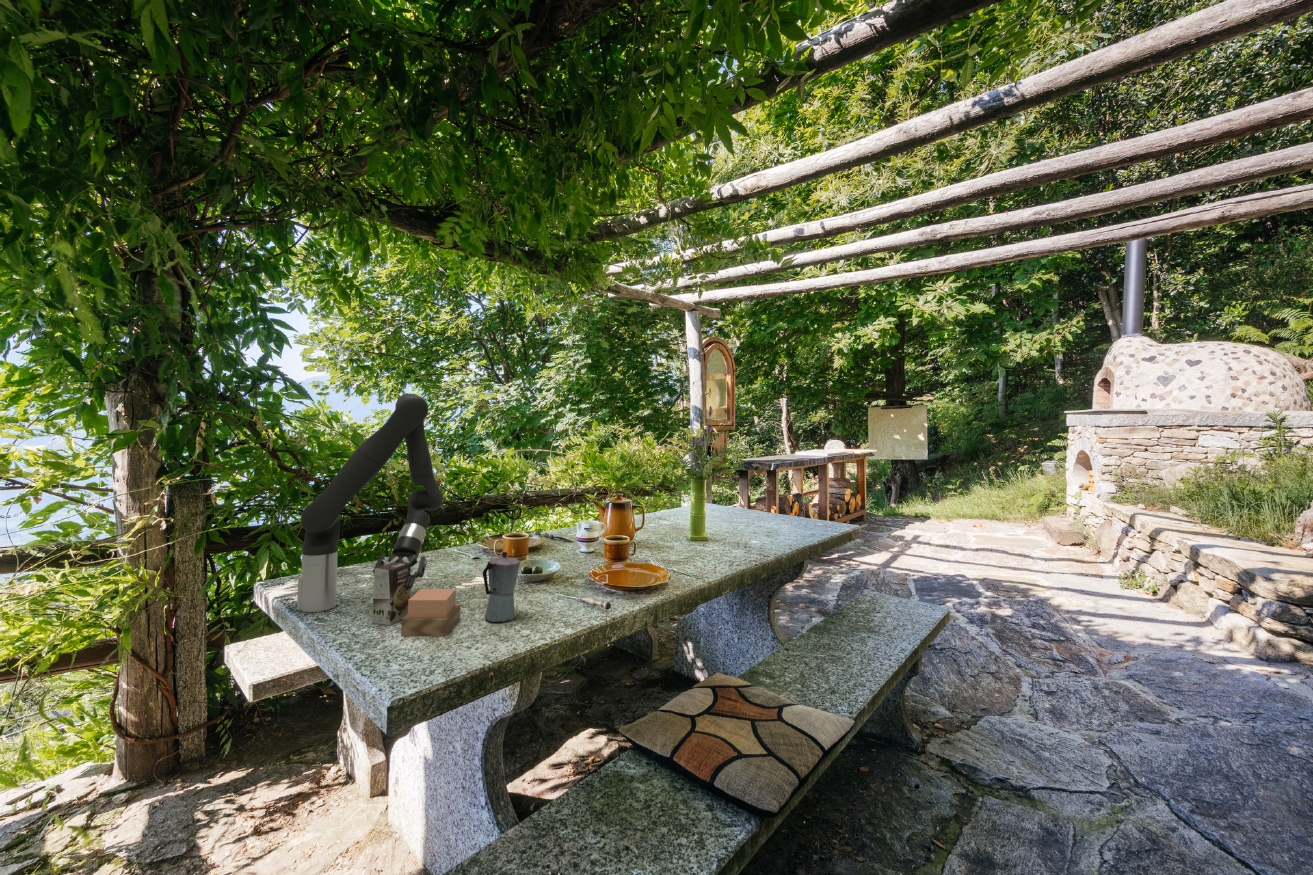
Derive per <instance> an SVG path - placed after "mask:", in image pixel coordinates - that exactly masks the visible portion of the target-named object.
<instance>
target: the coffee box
mask: <svg viewBox="0 0 1313 875" xmlns="http://www.w3.org/2000/svg"><path fill="white" fill-rule="evenodd" d="M388 563H389V562H388ZM388 563H386V564H384V565H383V566H380V567H377V568H374V567H373V569H374V573H373V576H374V577H373V592H372V594H373V595H372V597H373V598H372V599H373V600H372V618H371V619H372V620H371V623H372V624H377V625H379V624H380V625H385V626H392V625H394V624H396V623H398V622H400V621H402V618H403V617H405V616H406V615H407V614H408V600H409V599H410V598H411V597H412V594H413V593H412V590H413V589H412V588H413V587H412V588H410V590H406V588H405V585H406V582H407V580H408V577H409V576H410V573H409V571H410V567H412V564H413V563H411V562H392V563H389V564H388ZM412 568H413V567H412Z"/></svg>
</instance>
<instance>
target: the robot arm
mask: <svg viewBox="0 0 1313 875" xmlns="http://www.w3.org/2000/svg"><path fill="white" fill-rule="evenodd" d="M428 413H429V405H428V402H427V401H426V400H425V399H424V398H423V397H421V396H420V395H418V394H415V393H405V394H402V395H401V396H400V397H398V398H397V400H396V402H395V410H394V411H393V412H392V414H391V415H390V417H389V418H388V419H387V420H386V422H385V423H384V424H383V425H382V426H381V427H380V428H378V429H377V431H375V432H373V434H372V435H370V436H369V437H368V438H367V439H365V440H364V441H363V442H362V443H361V444H360V445H359V446H358V447H357V448H356V450H354V452H353V453H352V454H351V455H350V456H349V458H347V460H346V461H345V463H344V464H343V465H342V466H341V468H340V469H339V470H338V471H337V473H336V475H335V476H334V478H333V480H332V481H330V483H329V485H328V486H327V487H326V488H325V489H324V490H323V491H321V493H320V494H319V495H318V496H316V498H315V499H313V501H312V502H310V503H309V504H308V505H307V506H305V508H304V509H303V510H302V512H301V514H300V523H301V526H302V527H303V529H305V531H304V532H305V533H304V540H303V543H302V549H301V577H299V578H298V580H297V599H296V600H297V603H296V604H297V605H296V607H297V608H296V610H297V611H301V612H304V613H319V612H325V611H328V610H331V608H332V609H333V608H335V607H337V588H338V587H337V581H338V552H339V551H338V549H339V547H338V546H339V542H340V535H341V533H340V531H341V514H342V511H343V510H344V509H345V507H346V506H347V504H348V503H349V502H350V501H351V499H352V498H353V497H354V496H356V494H358V493H359V492H360V491H361V490H362V489H364V488H365V487H366V486H367V485H368V483H369V484H370V482H371V481H372V480H373V479H374V478H375V477H376V476H377V475H378V473H379V472H380V471H381V470H382V469H383V467H384V466H385V465H386V464H387V462H388V461H389V460H390V458H391V457H392V456H393V454H395V452H396V451H397V449H398V448H399V446H400V445H401V444H402V442H403V441H405V446H406V454H407V455H406V456H407V462H408V469H409V474H410V480H411V483H412V484H414V485H418V486H421V487H423V488H424V489H415V490H413V491H412V492H411V493H410V495H409V496H408V500H407V501H408V503H407V504H408V506H407V516H406V519H405V521H404V524H403V526H402V528H401V530H400V531H399V534H398V537H397V539H396V542H395V544H394V546H393V549H392V552H391V555H390V556H384V554H380V555H379V557H378V559H377V561H376V563H375V565H374V566H373V569H372V573H373V574H374V568H377V567H380V566H383V565H386V564H389V563H392V562H411V563H413V564H412V567H410V571H409V573H410V576H409V577H408V580H407V582H406V585H405V588H406V590H410V588H413V586H414V583H415V582H416V581H415V580H416V579H417V578H423V577H424V576H425V575H424V574H425V570H426V567H427V563H428V560H427V558H426V556H425V555H423V556H421V557H419V556H420V553H421V549H422V547H423V544H424V542H425V537H426V533H427V530H428V528H429V525H430V522H431V517H430V515H429V513H427V512H425V511H437V510H438V509H440V508H441V506H442V505H443V502H444V498H443V493H442V491H441V489H440V487H439V485H438V483H437V480H436V477H435V475H434V470H433V464H432V458H431V454H430V450H429V446H428V442H427V438H426V432H425V419H426V418H427V415H428ZM416 564H418V567H417V571H414V569H413V567H415V565H416ZM324 610H325V611H324Z"/></svg>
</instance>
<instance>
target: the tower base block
mask: <svg viewBox="0 0 1313 875" xmlns="http://www.w3.org/2000/svg"><path fill="white" fill-rule="evenodd" d="M460 622H461V605H460V604H455V607H454V608H453V609H452V611H451V612H450V613H449V614H448V616H447V617H446V618H408V614H407V615H406V616H405V617H403V618H402V620H401V625H400V626H401V629H400V630H401V632H400V635H401V637H445V636H446V637H447V636H448V635H449V634H450V632H451V631H453V630H454V628H455V627H456V625H458V623H460ZM454 626H455V627H454ZM447 634H448V635H447Z"/></svg>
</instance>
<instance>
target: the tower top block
mask: <svg viewBox="0 0 1313 875" xmlns="http://www.w3.org/2000/svg"><path fill="white" fill-rule="evenodd" d="M456 593H457V589H456V588H420V589H419V590H417V591H416V593H415V594H413V595H411V598H410V599H409V600H408V618H446V617H447V616H448V614H449V613H450V612H451V611H452V609H453V608H454V607H455V605H456Z"/></svg>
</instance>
